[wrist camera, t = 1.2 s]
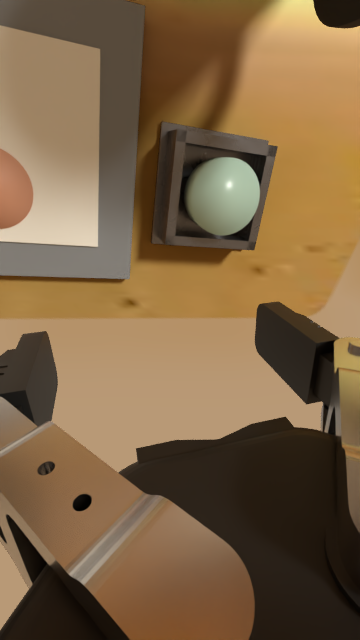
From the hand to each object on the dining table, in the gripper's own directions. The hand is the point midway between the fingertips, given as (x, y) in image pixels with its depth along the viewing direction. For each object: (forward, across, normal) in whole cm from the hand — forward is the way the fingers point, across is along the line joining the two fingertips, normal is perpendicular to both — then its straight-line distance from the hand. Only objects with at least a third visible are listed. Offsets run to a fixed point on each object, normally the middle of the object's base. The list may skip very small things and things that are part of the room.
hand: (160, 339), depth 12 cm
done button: (+18, -9, -4) cm, 20 cm away
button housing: (+20, -9, -4) cm, 22 cm away
